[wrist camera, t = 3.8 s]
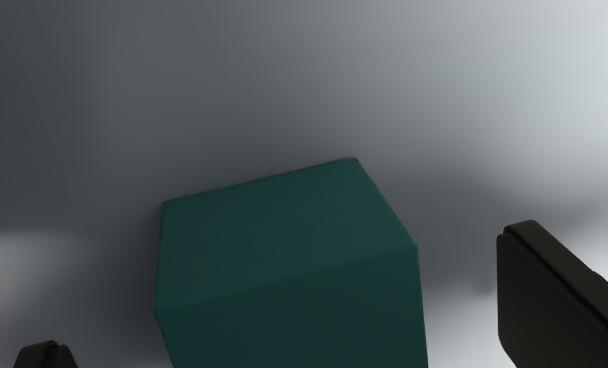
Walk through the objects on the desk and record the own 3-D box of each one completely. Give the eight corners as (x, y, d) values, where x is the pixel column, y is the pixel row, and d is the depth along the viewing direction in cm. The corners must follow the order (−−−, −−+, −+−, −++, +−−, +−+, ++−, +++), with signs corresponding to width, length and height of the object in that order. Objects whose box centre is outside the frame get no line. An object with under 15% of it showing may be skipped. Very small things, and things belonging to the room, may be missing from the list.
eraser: (161, 200, 11) (150, 311, 8) (356, 155, 12) (418, 244, 8) (229, 413, 14) (242, 558, 11) (386, 371, 14) (442, 498, 11)
